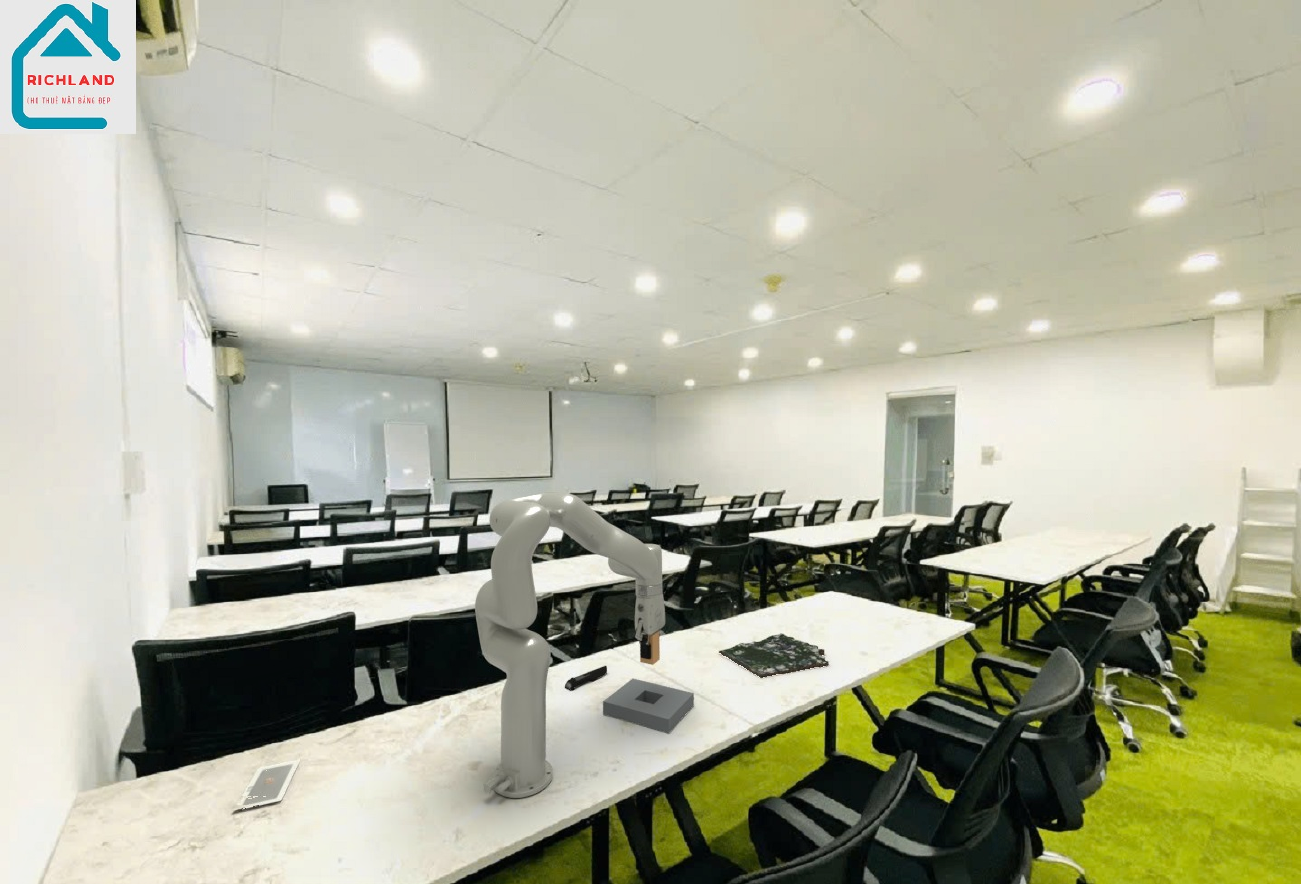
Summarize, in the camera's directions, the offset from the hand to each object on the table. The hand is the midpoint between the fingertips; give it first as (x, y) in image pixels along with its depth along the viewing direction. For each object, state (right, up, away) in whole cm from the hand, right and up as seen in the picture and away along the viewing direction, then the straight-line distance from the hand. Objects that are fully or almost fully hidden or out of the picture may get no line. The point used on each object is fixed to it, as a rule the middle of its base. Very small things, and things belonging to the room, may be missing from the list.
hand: (649, 654), depth 137 cm
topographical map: (+45, -17, +35) cm, 60 cm away
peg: (0, -2, 0) cm, 2 cm away
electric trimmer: (-20, -16, +17) cm, 31 cm away
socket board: (0, -15, -1) cm, 15 cm away
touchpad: (-81, -15, -32) cm, 89 cm away
